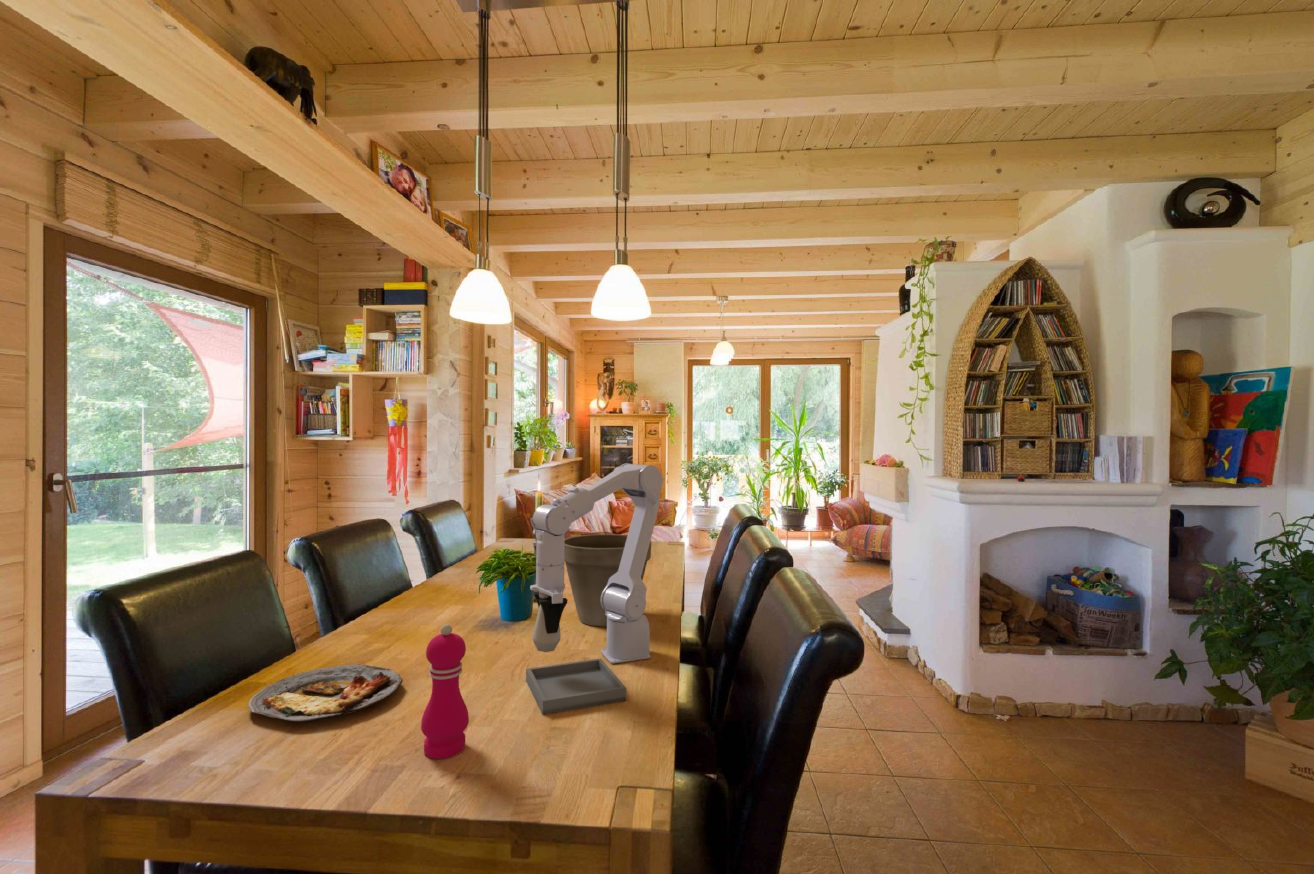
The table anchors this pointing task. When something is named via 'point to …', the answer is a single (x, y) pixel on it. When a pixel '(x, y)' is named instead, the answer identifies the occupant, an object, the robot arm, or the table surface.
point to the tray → (574, 686)
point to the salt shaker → (544, 632)
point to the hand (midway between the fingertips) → (549, 629)
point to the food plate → (325, 693)
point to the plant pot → (593, 571)
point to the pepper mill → (445, 697)
